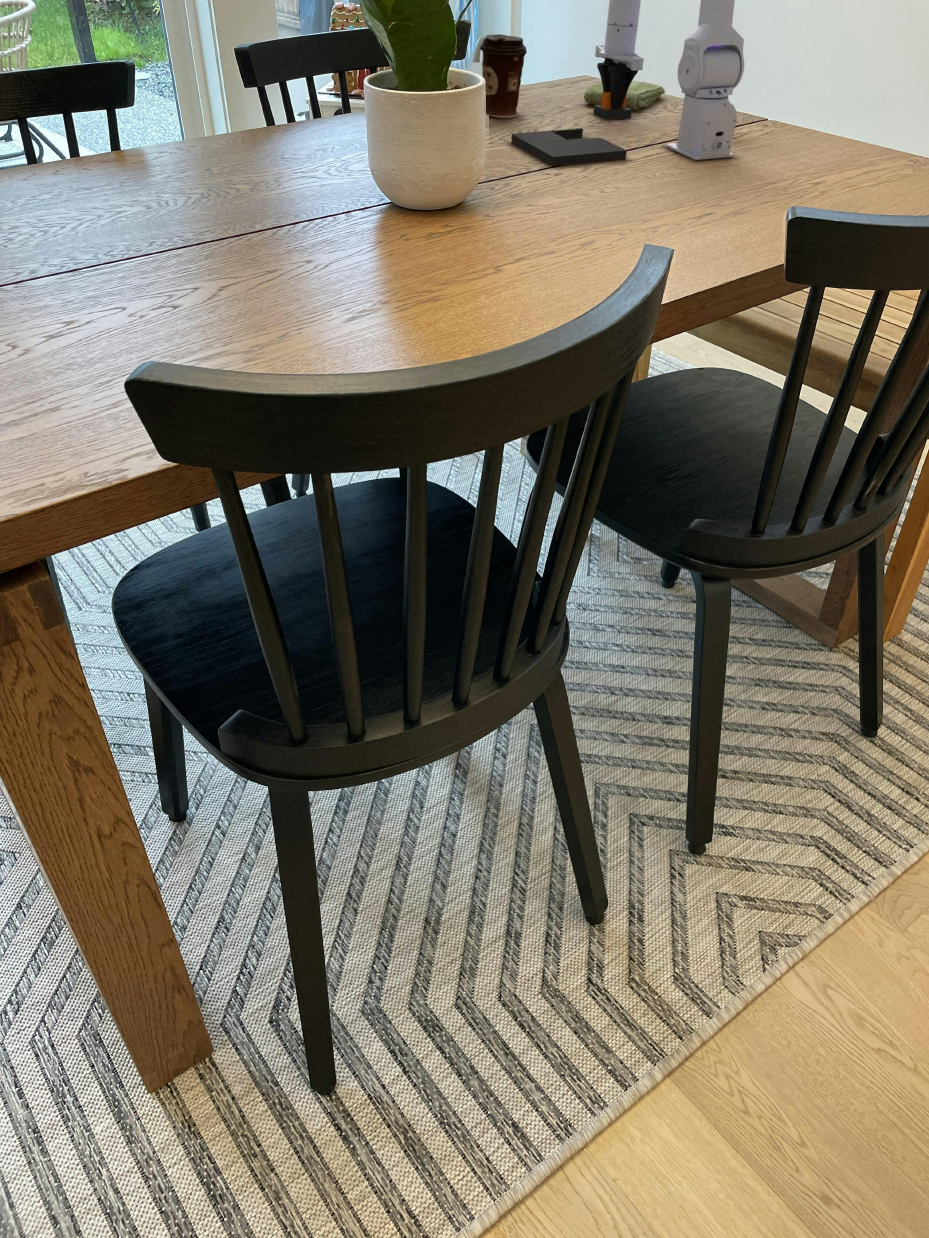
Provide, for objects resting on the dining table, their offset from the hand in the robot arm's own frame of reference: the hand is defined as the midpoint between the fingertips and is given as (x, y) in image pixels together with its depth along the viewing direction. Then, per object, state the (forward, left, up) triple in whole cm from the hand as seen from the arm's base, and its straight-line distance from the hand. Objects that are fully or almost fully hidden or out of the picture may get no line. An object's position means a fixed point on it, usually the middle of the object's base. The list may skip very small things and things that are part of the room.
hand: (613, 106), depth 179 cm
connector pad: (0, 0, -2) cm, 2 cm away
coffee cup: (+7, +21, -2) cm, 22 cm away
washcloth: (+11, -9, -2) cm, 14 cm away
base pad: (-21, +21, -2) cm, 30 cm away
